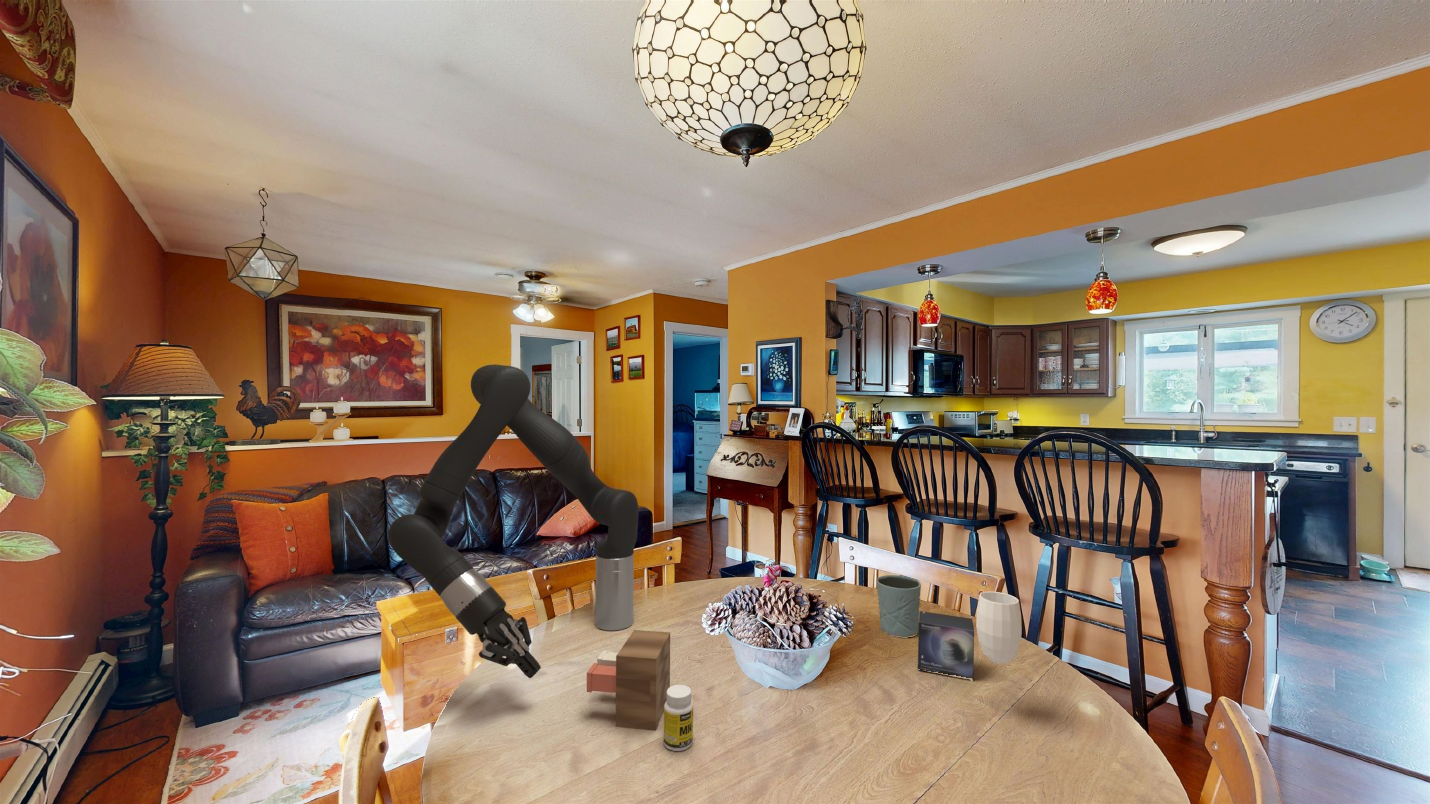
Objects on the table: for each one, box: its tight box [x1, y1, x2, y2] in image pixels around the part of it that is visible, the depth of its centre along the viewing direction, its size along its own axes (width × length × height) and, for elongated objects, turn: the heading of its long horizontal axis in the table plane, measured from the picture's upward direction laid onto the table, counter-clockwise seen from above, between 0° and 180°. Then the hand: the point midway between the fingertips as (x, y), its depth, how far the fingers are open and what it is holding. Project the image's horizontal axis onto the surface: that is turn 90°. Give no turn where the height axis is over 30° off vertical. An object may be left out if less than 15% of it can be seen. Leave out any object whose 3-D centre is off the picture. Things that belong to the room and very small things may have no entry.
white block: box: [596, 649, 618, 667], centre depth 99 cm, size 3×8×3 cm, turn 82°
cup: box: [975, 591, 1023, 665], centre depth 96 cm, size 7×7×21 cm
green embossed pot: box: [876, 574, 922, 637], centre depth 130 cm, size 10×10×12 cm
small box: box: [917, 610, 975, 679], centre depth 111 cm, size 11×6×10 cm, turn 68°
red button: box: [586, 662, 616, 694], centre depth 94 cm, size 3×8×3 cm, turn 82°
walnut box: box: [615, 629, 671, 731], centre depth 96 cm, size 10×7×12 cm
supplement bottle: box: [663, 684, 694, 752], centre depth 87 cm, size 5×5×8 cm
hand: (535, 673), depth 96 cm, fingers closed
